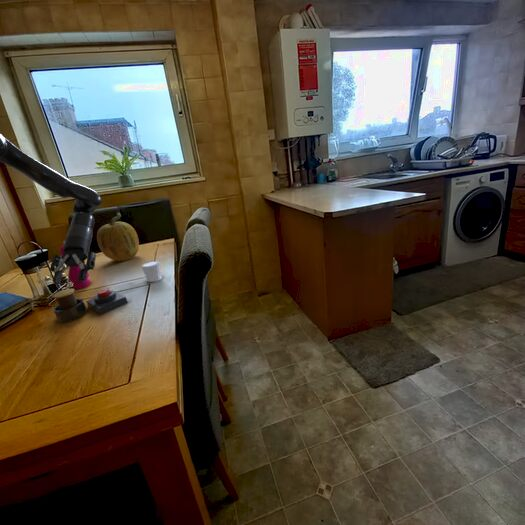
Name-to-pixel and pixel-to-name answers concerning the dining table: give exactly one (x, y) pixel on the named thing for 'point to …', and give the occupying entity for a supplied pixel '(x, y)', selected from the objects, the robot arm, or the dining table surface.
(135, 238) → the pumpkin
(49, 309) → the dining table surface
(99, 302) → the panel
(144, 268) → the white short cylinder
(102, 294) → the brew button
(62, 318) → the pod holder
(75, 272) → the pepper mill
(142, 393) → the dining table surface
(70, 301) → the coffee pod
